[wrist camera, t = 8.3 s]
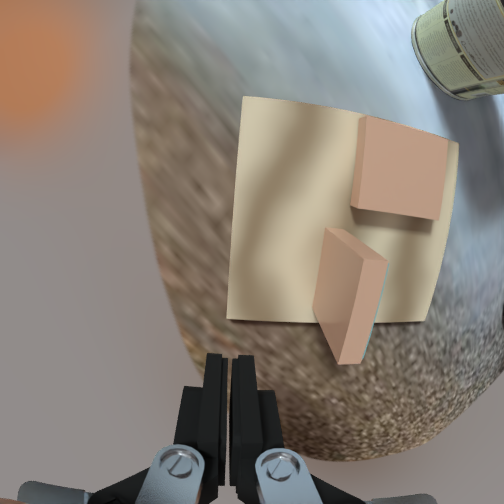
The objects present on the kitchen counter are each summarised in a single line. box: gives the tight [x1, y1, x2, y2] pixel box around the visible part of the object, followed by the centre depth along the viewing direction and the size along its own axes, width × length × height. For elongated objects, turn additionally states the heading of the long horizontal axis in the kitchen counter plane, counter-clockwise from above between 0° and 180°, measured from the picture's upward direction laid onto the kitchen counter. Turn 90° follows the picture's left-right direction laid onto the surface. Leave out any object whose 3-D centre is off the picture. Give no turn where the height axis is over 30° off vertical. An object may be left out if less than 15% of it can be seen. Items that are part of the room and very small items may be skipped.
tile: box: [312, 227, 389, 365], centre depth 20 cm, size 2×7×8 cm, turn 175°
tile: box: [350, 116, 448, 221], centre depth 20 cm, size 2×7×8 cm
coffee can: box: [411, 0, 504, 100], centre depth 12 cm, size 10×10×14 cm
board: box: [227, 96, 459, 323], centre depth 23 cm, size 20×18×1 cm
